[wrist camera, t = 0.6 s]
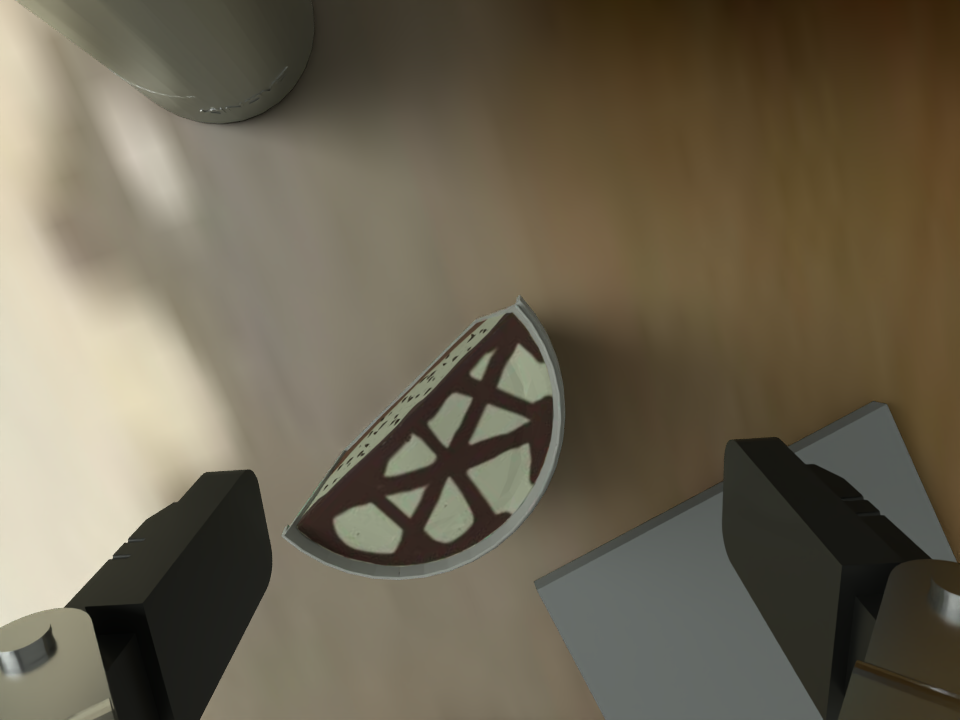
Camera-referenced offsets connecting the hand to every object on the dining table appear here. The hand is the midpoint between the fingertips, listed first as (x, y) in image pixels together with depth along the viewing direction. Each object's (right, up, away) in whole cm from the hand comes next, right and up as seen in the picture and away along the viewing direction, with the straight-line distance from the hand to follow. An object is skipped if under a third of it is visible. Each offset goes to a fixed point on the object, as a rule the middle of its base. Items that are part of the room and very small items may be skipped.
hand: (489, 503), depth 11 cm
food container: (-2, -1, +22) cm, 22 cm away
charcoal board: (+16, -12, +24) cm, 31 cm away
